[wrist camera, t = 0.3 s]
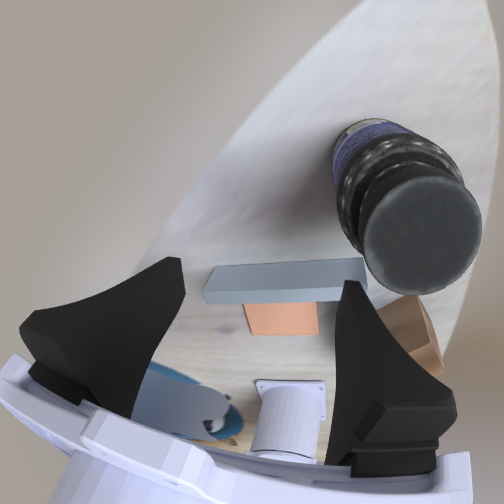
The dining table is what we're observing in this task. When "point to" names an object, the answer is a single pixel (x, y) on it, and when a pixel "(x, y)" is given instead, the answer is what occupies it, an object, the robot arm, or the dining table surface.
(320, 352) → the dining table surface
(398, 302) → the walnut block
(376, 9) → the dining table surface
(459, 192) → the pill bottle
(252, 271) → the light blue angle bracket
